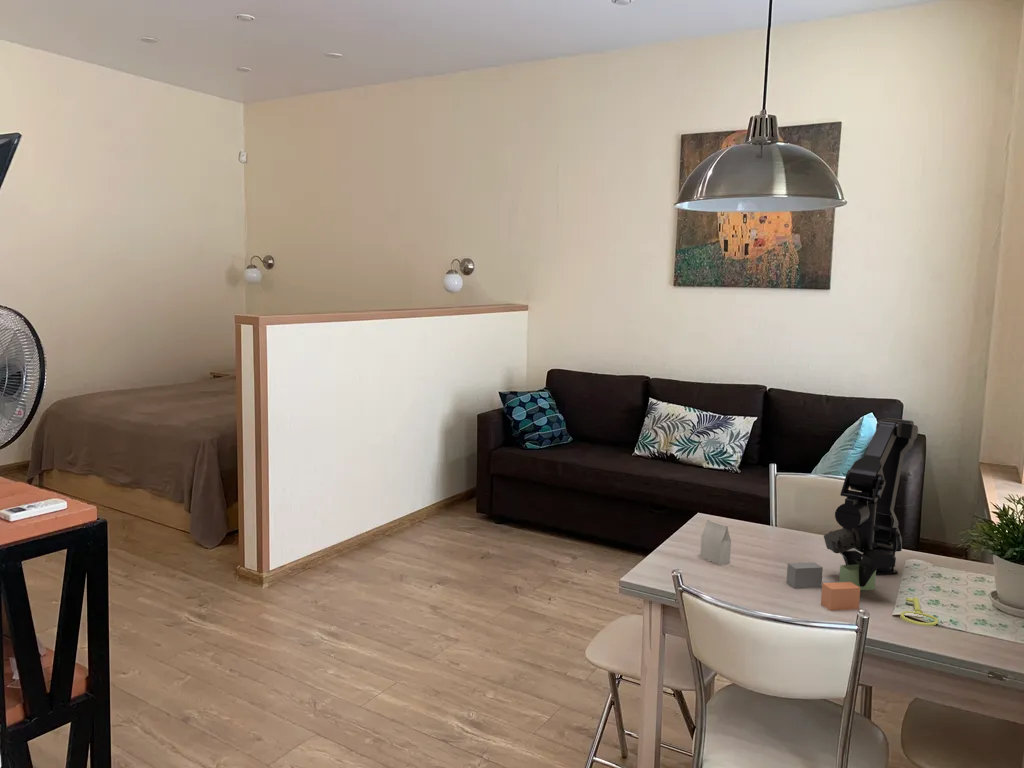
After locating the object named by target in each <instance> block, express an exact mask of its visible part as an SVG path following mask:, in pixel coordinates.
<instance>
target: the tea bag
mask: <svg viewBox="0 0 1024 768" xmlns="http://www.w3.org/2000/svg"><path fill="white" fill-rule="evenodd" d="M729 533H730V532H729V528H728V526H727V525H724V524H721V523H719V522H717V521H712V520H710V519H706V523H705V526H704V528H703V531H702V533H701V537H700V538H701V540H700V542H701V543H700V557H702V558H701V559H703V558H704V559H703V560H705V559H707V560H706V561H708V560H709V561H708V562H710V561H712V562H711V563H713V562H714V563H713V564H715V563H716V564H715V565H717V564H718V565H717V566H723V565H722V564H724V565H727V563H728V564H730V563H731V552H732V551H731V547H732V539H731V536H730V534H729ZM700 557H699V558H700Z"/></svg>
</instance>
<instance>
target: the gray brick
mask: <svg viewBox="0 0 1024 768" xmlns="http://www.w3.org/2000/svg"><path fill="white" fill-rule="evenodd" d="M823 568H824V567H823V566H821V565H820V564H818V563H816V562H814V561H811V562H810V561H808V562H793V563H792V562H788V563H787V571H786V584H787V585H789V586H790V587H792V588H793V589H811V588H815V589H816V588H822V583H823V582H822V581H823V570H824V569H823Z"/></svg>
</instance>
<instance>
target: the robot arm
mask: <svg viewBox="0 0 1024 768" xmlns="http://www.w3.org/2000/svg"><path fill="white" fill-rule="evenodd" d="M876 422H877V423H876V427H875V431H874V434H873V436H872V438H871V439H870V442H869V445H868V447H867V449H866V451H865V453H864V455H863V456H862V458H859V459H857V460H855V461H854V462H853V464H852V465H851V466H850V469H848V470H847V472H846V475H845V478H844V482H843V485H842V487H841V488H842V489H841V491H840V494H839V495H840V496H841V497H846V498H845V499H844V503H842V504H840V505H839V506H837V508H836V510H835V511H834V518H835V521H836V523H837V524H838V525H840V527H841V528H839V529H836V530H831V531H829V532H828V533H826V534H824V535H823V539H824V543H825V546H826V549H827V550H830V551H831V552H833V553H835V554H840V555H841V556H842V558H843V560H844V565H857V564H858V565H859V584H860V586H861V587H864V586H865V585H866V583H867V582H868V581H869V579H870V578H871V576H872V575H873V573H874V572H875V571H876V575H891V574H892V575H893V574H894V575H896V574H899V571H898V570H896V569H895V567H896V565H897V564H896V563H897V561H896V560H897V557H896V553H897V552H902V549H903V538H902V535H901V532H900V528H899V520H898V518H897V516H896V514H895V511H894V510H895V505H896V499H897V493H898V489H899V484H900V477H901V472H902V467H903V462H904V457H905V455H906V454H907V453H908V452H909V451H910V450H911V449H912V448H913V446H914V442H915V440H916V439H917V437H918V433H919V428H918V427H919V426H918V425H915V423H914V421H913V420H910V419H909V420H907V419H899V418H892V417H891V418H889V417H886V418H885V419H878V420H877V421H876Z"/></svg>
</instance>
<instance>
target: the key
mask: <svg viewBox="0 0 1024 768" xmlns="http://www.w3.org/2000/svg"><path fill="white" fill-rule="evenodd" d="M905 602H909V603H913V610H912V611H909V610H907V611H901V612H900V616H899V618H900V620H902V621H904V622H907V623H910V624H913V625H918V626H924V627H935V626H934V625H936V624H937V623H938V624H939V619H938V618H937V617H936V616H933V615H930V614H929V613H928V614H927V613H924V612H923V610H922V609H921V605H920V599H919V598H918V597H917V596H915V597H913V598H911V597H905ZM914 608H915V609H914ZM913 611H915V612H913ZM905 613H914V614H919V615H923V616H926V617H930V618H932V619H934V620H935V621H934V622H933V621H931V622H922V621H916V620H913V619H910V618H908V617H905V616H904V614H905Z"/></svg>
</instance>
